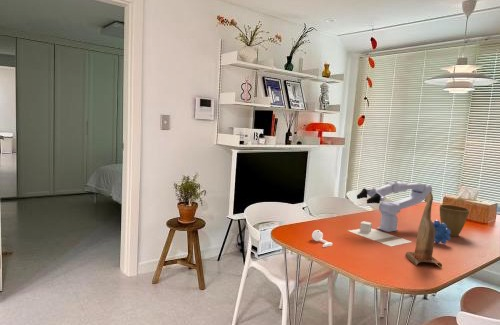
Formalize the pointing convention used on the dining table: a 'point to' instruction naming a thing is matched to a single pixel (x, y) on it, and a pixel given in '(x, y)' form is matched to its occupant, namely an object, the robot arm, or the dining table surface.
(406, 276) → the dining table surface
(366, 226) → the cream white cube
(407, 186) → the robot arm
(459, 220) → the plant pot
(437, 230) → the grapes
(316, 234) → the figurine
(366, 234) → the subfloor board
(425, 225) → the bird sculpture
